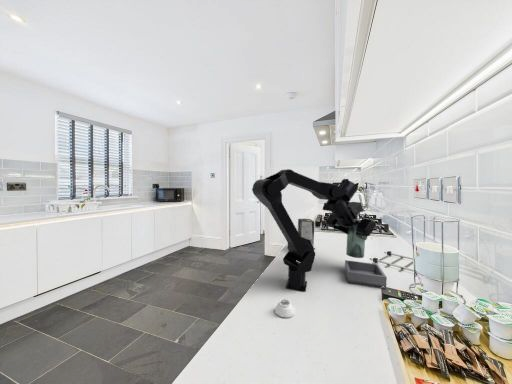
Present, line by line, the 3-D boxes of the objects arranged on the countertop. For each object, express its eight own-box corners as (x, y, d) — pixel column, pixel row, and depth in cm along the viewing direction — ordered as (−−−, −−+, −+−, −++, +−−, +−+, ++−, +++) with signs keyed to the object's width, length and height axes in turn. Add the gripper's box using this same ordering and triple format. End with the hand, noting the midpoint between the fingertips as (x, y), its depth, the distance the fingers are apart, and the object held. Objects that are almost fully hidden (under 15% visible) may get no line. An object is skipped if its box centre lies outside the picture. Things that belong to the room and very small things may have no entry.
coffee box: (313, 255, 100) (314, 221, 99) (300, 255, 100) (301, 221, 99) (309, 249, 109) (310, 218, 108) (296, 248, 109) (297, 218, 109)
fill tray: (386, 289, 69) (386, 277, 69) (347, 283, 73) (348, 271, 73) (377, 274, 80) (377, 264, 80) (344, 270, 84) (344, 260, 84)
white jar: (274, 306, 59) (275, 318, 54) (275, 296, 58) (275, 307, 53) (292, 307, 58) (295, 319, 53) (293, 297, 58) (295, 308, 53)
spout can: (364, 259, 79) (366, 217, 78) (345, 256, 82) (347, 216, 81) (364, 254, 85) (366, 215, 84) (346, 251, 87) (348, 214, 87)
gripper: (374, 196, 72) (391, 226, 77) (332, 193, 89) (349, 218, 94) (357, 220, 69) (377, 250, 74) (317, 212, 85) (335, 237, 91)
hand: (358, 237), depth 83 cm, fingers closed on spout can, 6 cm apart
